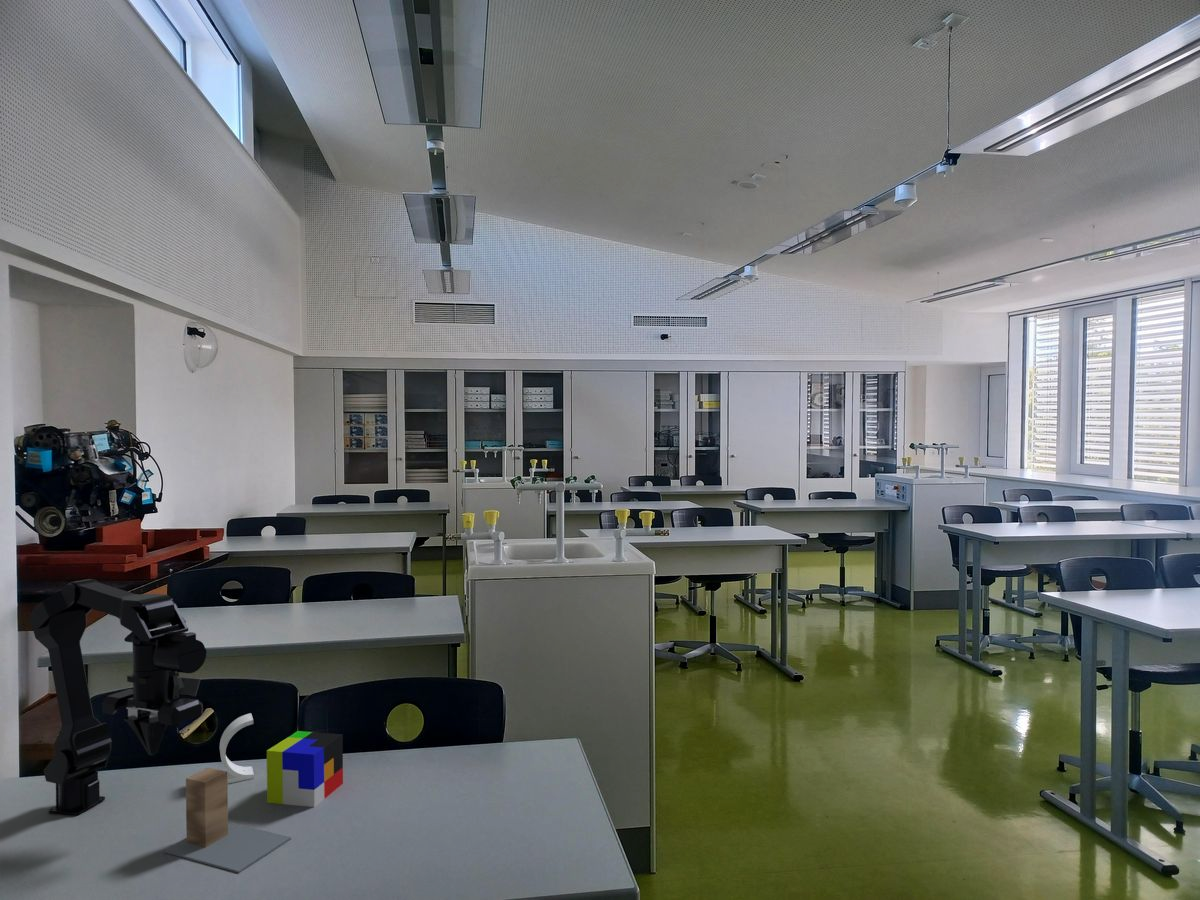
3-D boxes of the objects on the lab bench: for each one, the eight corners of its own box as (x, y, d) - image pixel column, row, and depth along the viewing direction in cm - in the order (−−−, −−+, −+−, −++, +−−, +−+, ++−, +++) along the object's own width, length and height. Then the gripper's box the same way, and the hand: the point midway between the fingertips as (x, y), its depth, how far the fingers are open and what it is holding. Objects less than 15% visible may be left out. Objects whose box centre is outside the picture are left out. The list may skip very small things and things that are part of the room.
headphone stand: (253, 778, 153) (253, 720, 153) (221, 785, 150) (220, 725, 150) (251, 770, 157) (251, 713, 157) (219, 776, 154) (219, 718, 154)
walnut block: (186, 842, 127) (185, 778, 127) (209, 829, 132) (208, 767, 132) (205, 847, 126) (205, 782, 126) (228, 834, 130) (227, 771, 130)
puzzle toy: (314, 807, 140) (313, 754, 140) (267, 802, 142) (266, 750, 142) (343, 783, 150) (342, 734, 150) (298, 779, 152) (297, 731, 152)
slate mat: (163, 852, 125) (163, 850, 125) (218, 821, 135) (218, 819, 135) (239, 872, 119) (238, 871, 119) (291, 838, 129) (291, 837, 129)
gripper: (227, 660, 138) (228, 744, 138) (156, 650, 145) (157, 731, 145) (172, 677, 127) (174, 769, 127) (99, 666, 134) (100, 753, 134)
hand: (152, 754), depth 134 cm, fingers closed
